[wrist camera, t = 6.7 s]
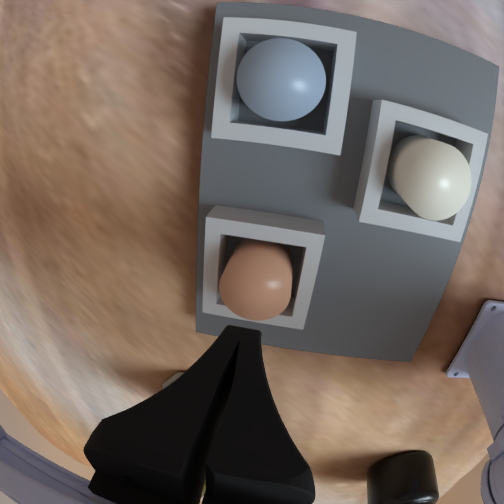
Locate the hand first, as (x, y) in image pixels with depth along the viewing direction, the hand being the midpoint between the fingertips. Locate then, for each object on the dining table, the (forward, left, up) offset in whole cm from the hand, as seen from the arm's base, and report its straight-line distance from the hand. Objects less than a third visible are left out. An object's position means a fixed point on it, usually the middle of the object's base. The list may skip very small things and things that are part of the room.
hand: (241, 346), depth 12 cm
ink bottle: (-21, +27, -9) cm, 35 cm away
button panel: (-4, -4, -9) cm, 11 cm away
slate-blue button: (0, -10, -7) cm, 12 cm away
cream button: (-7, -7, -7) cm, 12 cm away
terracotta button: (0, 0, -7) cm, 7 cm away
